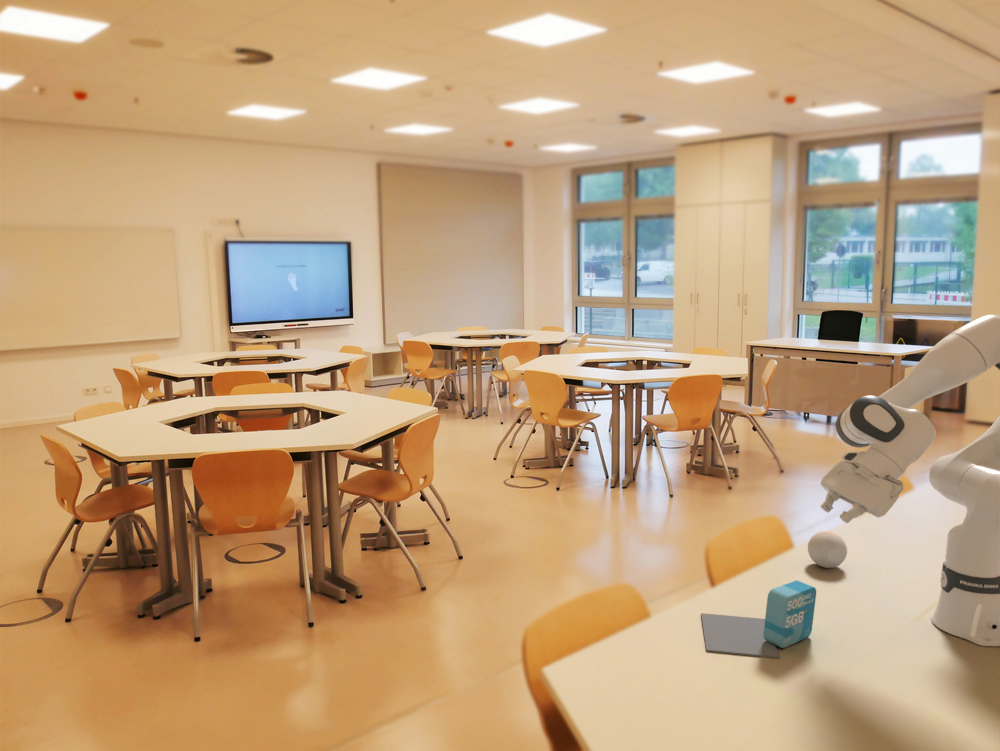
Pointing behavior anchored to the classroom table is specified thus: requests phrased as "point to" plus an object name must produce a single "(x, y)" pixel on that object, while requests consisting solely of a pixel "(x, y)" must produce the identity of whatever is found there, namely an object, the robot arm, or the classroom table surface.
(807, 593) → the data package
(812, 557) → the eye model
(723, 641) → the mat
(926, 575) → the classroom table surface
